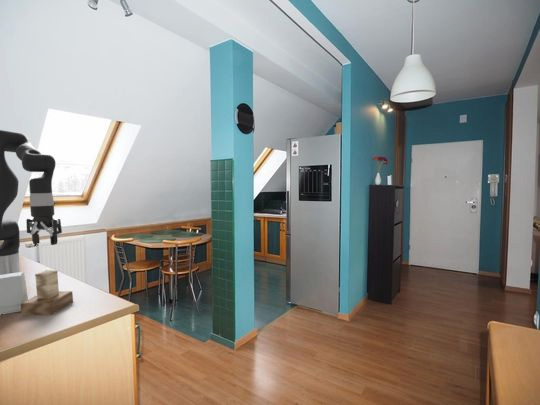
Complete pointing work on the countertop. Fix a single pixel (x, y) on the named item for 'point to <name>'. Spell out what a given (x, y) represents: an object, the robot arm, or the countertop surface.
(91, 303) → the countertop surface
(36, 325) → the countertop surface
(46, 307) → the walnut box
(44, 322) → the countertop surface
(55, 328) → the countertop surface
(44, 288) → the oak block
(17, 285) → the skincare box
